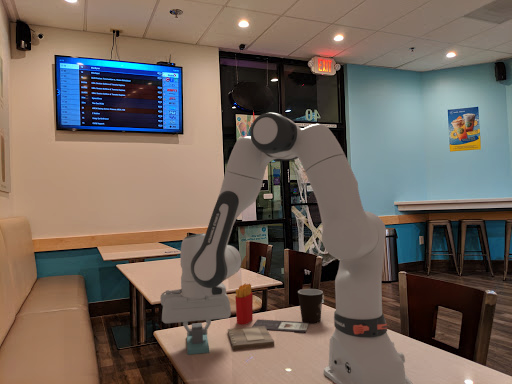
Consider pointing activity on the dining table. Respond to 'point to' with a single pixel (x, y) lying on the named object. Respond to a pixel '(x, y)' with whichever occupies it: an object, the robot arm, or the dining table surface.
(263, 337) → the board
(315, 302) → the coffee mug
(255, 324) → the chocolate bar
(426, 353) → the dining table surface
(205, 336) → the teal base gray block
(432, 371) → the dining table surface
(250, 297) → the french fries
